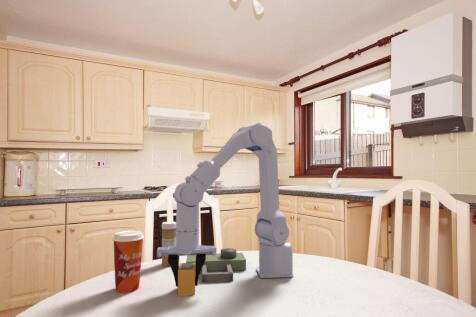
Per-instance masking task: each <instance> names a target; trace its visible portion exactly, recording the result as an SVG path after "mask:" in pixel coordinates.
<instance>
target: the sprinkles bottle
mask: <svg viewBox="0 0 476 317" xmlns="http://www.w3.org/2000/svg"><path fill="white" fill-rule="evenodd" d="M161 229H162V234H161V235H162V236H161V247H170V246H176V221H163V222H162V223H161ZM161 265H162V266H164V267H170V265H169V263H168V256H162V257H161Z"/></svg>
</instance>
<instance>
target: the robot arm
mask: <svg viewBox="0 0 476 317" xmlns="http://www.w3.org/2000/svg"><path fill="white" fill-rule="evenodd" d="M243 149H244V150H245V149H246V150H247V151H250V152H252V153H253V154H254V156H256V157H257V158H258V169H259V170H258V172H259V176H258V177H259V196H260V197H259V198H260V199H259V200H260V210H259V212H258V213H257V214H256V221H255V222H256V223H255V225H254V233H255V234H254V235H255V236H257V240H258V245H259V246H258V248H259V249H258V250H259V251H258V253H259V254H258V258H259V259H258V262H259V263H258V267H255V270H256V272H257V274H258V276H259V278H261V279H273V278H274V279H275V278H293V277H294V272H293V271H294V270H293V268H294V267H293V266H294V265H293V248H292V245H291V243H290V242H287V240H288V238H289V235H290V229H289V226H288V223H287V218H286V216H285V215H284V213H283V212H282V211H281V210H280V196H279V192H280V191H279V172H278V169H279V168H278V150H277V147H276V145H275V142H274V139H273V130H271V128H269V127H268V126H267V125H266V124H264V123H262V122H258V123H255V124H252V125H248V126H243V127H240V128H238V130H237V131H235V132H234V133H233V134H232V135H231V137H230V138H229V139H228V140H227V141H226V142H225V144H224V145H223V146H222V147H221V148H220V150H219V151H218V152H217V153H216V154H215V155H214V156H213V158H211V160H204V161H201V162H199V163H198V164H196V166H197V168H196V169H194V171H193V172H192V173H191V174H190V175H187V176H185V178H184V180H185V182H181V183H179V184H177V186H176V187H175V191H174V192H173V193H172V195H173V196H172V197H173V199H174V201H175V202H176V213H175V214H176V215H175V218H176V219H175V222H176V246H170V247H162V246H161V247H159V246H158V248H157V250H156V257H157V258H162V256H168V263H169V265H170V266H169V267H170V270H171V271H172V275H173V279H174V282H175V287H176V288H178V269H179V265H180V256H181V257H183V256H186V257H187V256H190V255H196V272H195V287H198V284H199V279H200V275H201V273H202V271H201V269H202V267H203V265H204V263H205V260H206V255H212V256H216V254H217V246H216V245H201V244H200V242H199V241H200V203H202V201H203V199H204V195H205V194H204V193H206V191H207V190H208V189H209V188H210V187H211V186H212V185H213V184H214V183H215V182H216V181H217V179H219V177H221V169H222V167H223V166H224V165H226V164H227V162H228V161H230V160H231V159H232V158H233V157H234V156H235V155H236V154H237V153H238V152H239V151H240V150H243Z"/></svg>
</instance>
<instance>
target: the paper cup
mask: <svg viewBox="0 0 476 317" xmlns="http://www.w3.org/2000/svg"><path fill="white" fill-rule="evenodd" d="M144 238H145V235H144V233H143V231H141V230H123V231H117V232H115V233H114V235H113V237H112V241H113V257H114V259H113V262H114V263H113V264H114V282H115V283H114V284H115V292H117V293H119V294H127V293H128V294H129V293H132V292H135V291H137V290H138V289H139V288H140V279H141V269H142V268H141V267H142V256H143V255H142V254H143V243H144Z"/></svg>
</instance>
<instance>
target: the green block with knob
mask: <svg viewBox="0 0 476 317" xmlns="http://www.w3.org/2000/svg"><path fill="white" fill-rule="evenodd" d="M185 263H195V273H196V255H190V256H186V261H185ZM246 270H247V259H246V256H244V253H243V252H237V249H236V248H232V247H230V248H229V247H227V248H226V247H225V248H222V249H220V253H216V256H212V255H206V260H205V263H204V265H203V267H202V269H201V281H202V282H201V283H211V282H212V283H213V282H214V283H215V282H233V281H234V271H246Z"/></svg>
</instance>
